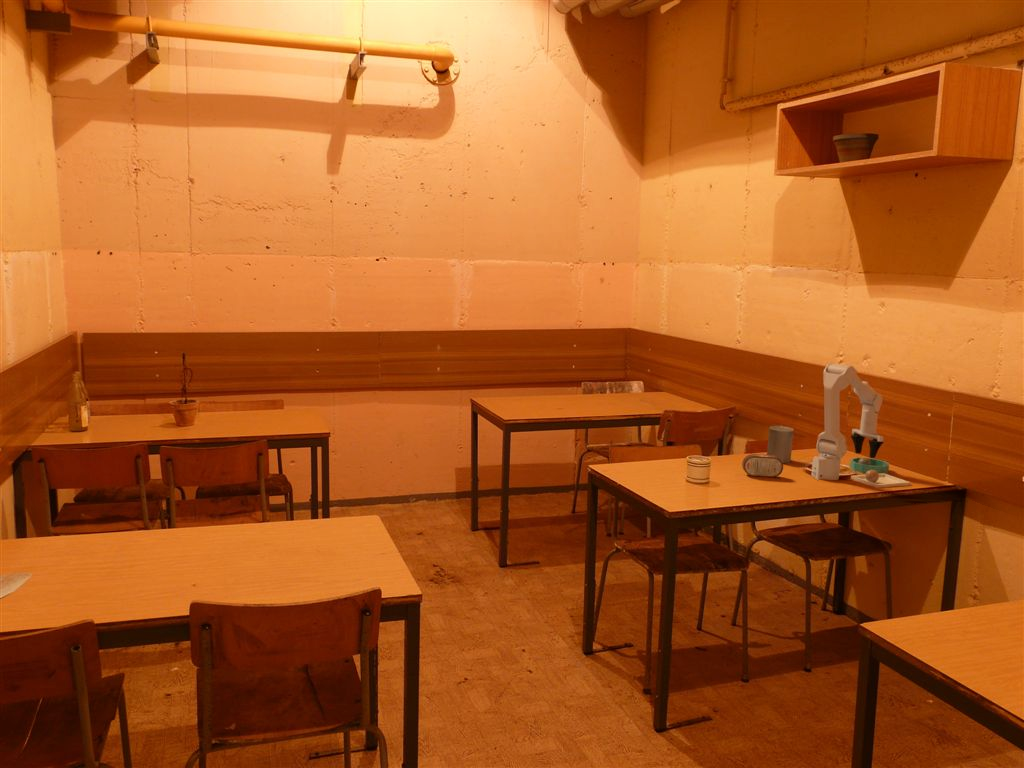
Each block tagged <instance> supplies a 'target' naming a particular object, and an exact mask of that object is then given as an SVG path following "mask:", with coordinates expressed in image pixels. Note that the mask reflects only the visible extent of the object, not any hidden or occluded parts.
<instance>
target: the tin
mask: <svg viewBox="0 0 1024 768" xmlns="http://www.w3.org/2000/svg"><path fill="white" fill-rule="evenodd" d="M741 462H742V463H741V465H742V467H741V468H742V470H743V471H744V472H745V474H747V475H748V476H750V477H758V478H759V477H761V478H763V477H764V478H777V477H780V475H781V474H782V473H783V470H784V463H782V461H781V459H780V458H779V457H777V456H774V455H767V454H759V453H758V454H757V453H751V454H748V455H747V456H745V457H744V459H743V460H742V461H741Z"/></svg>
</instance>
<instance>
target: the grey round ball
mask: <svg viewBox="0 0 1024 768" xmlns="http://www.w3.org/2000/svg"><path fill="white" fill-rule="evenodd" d="M860 458H861V459H860V460H859V461H858V463H860V464H864V465H870V466H871V462H870V460H869V459H867V458H868V457H860Z"/></svg>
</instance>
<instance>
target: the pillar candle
mask: <svg viewBox="0 0 1024 768" xmlns="http://www.w3.org/2000/svg"><path fill="white" fill-rule="evenodd" d="M794 430H795V429H794V428H792V427H789V426H783V424H781V425H771V426H769V429H768V441H767V450H766V455H774V456H777V457H779V458H780V459H781V461H782V463H783V464H789V463H791V461H792V450H793V449H792V448H793V441H794Z"/></svg>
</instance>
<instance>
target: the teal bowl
mask: <svg viewBox="0 0 1024 768" xmlns="http://www.w3.org/2000/svg"><path fill="white" fill-rule="evenodd" d="M861 458H862V457H852V458H850V461H849V469H850V468H851V469H850V470H852V469H853V470H852V471H854V472H857V473H861V474H866V472H867V471H868V470H875V471H877V472H878V474H882V473H884V474H887V475H889V472H890V471H889V470H890V463H889V462H887V461H885V460H880V459H877V458H870V457H869V458H868V457H866V458H867V459H869V460H870V462H871V466H870V465H864V464H860V463H858V461H859V460H860V459H861Z"/></svg>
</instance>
